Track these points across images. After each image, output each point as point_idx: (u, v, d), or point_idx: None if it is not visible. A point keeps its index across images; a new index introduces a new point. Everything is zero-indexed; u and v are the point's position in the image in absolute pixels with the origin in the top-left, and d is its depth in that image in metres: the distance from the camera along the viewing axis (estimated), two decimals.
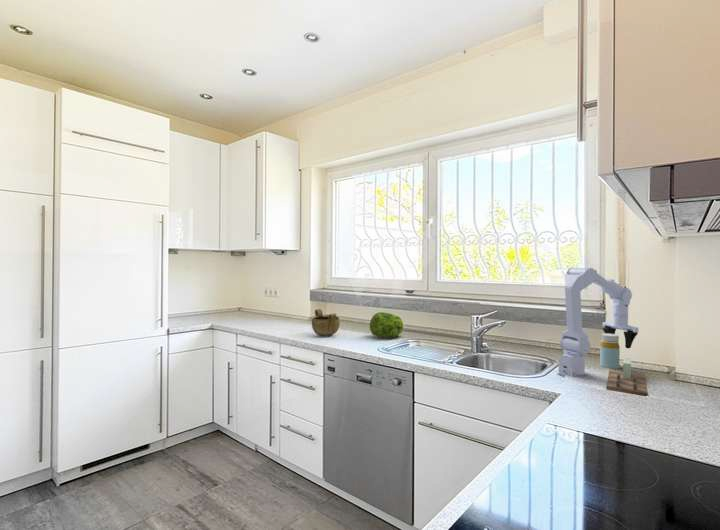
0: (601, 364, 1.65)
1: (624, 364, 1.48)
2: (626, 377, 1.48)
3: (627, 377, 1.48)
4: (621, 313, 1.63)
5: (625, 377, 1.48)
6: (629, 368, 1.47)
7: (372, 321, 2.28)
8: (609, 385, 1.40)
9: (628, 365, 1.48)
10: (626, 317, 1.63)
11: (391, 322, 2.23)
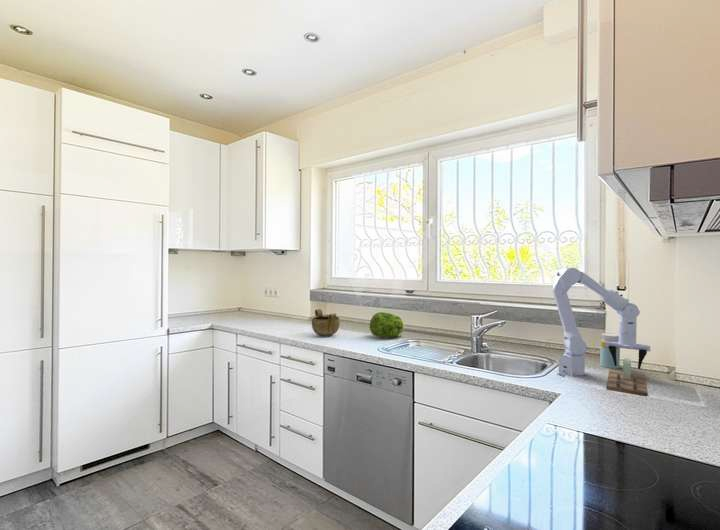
0: (601, 364, 1.65)
1: (624, 364, 1.48)
2: (626, 377, 1.48)
3: (627, 377, 1.48)
4: (623, 331, 1.50)
5: (625, 377, 1.48)
6: (629, 368, 1.47)
7: (372, 321, 2.28)
8: (609, 385, 1.40)
9: (628, 365, 1.48)
10: None
11: (391, 322, 2.23)
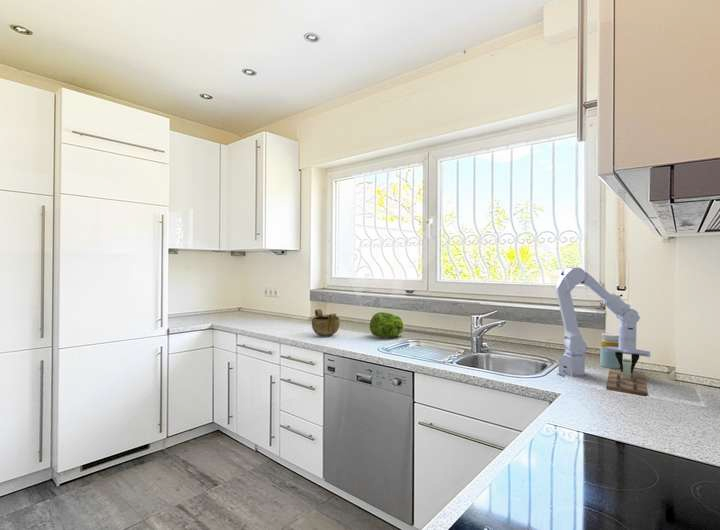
0: (601, 364, 1.65)
1: (624, 364, 1.48)
2: (626, 377, 1.48)
3: (627, 377, 1.48)
4: (623, 336, 1.50)
5: (625, 377, 1.48)
6: (629, 368, 1.47)
7: (372, 321, 2.28)
8: (609, 385, 1.40)
9: (628, 365, 1.48)
10: None
11: (391, 322, 2.23)
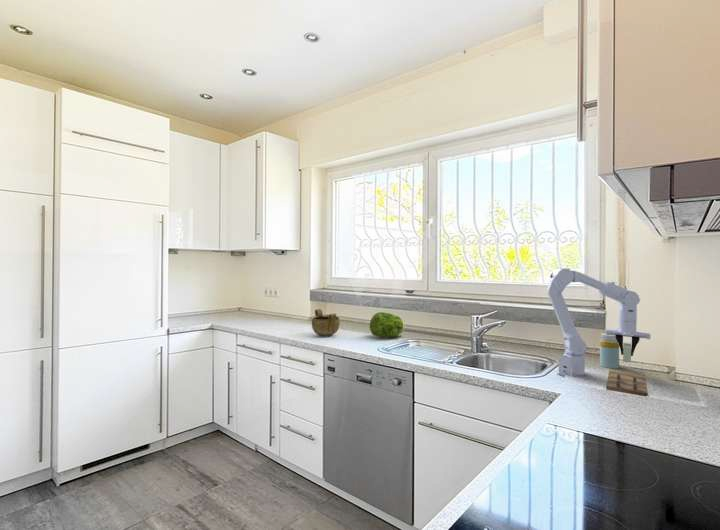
0: (601, 364, 1.65)
1: (624, 347, 1.48)
2: (626, 360, 1.48)
3: (627, 360, 1.47)
4: (624, 318, 1.50)
5: (625, 360, 1.48)
6: (629, 351, 1.47)
7: (372, 321, 2.28)
8: (609, 385, 1.40)
9: (628, 348, 1.47)
10: (619, 321, 1.53)
11: (391, 322, 2.23)
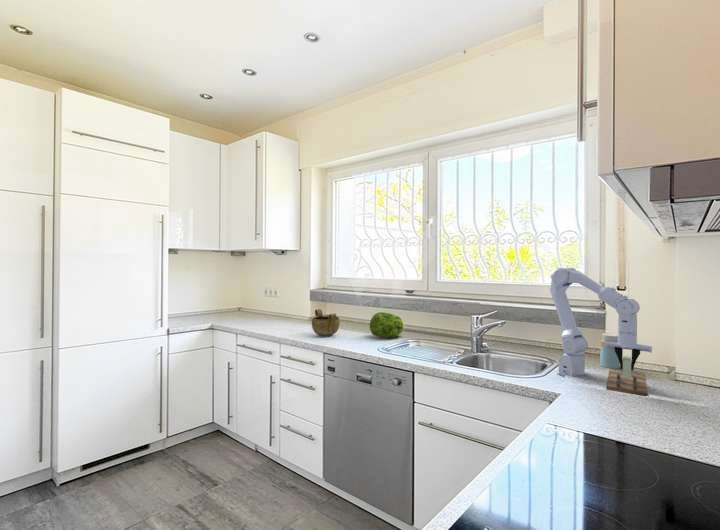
0: (601, 364, 1.65)
1: (624, 362, 1.38)
2: (626, 376, 1.37)
3: (627, 376, 1.37)
4: (618, 329, 1.41)
5: (625, 376, 1.38)
6: (629, 366, 1.37)
7: (372, 321, 2.28)
8: (609, 385, 1.40)
9: (628, 363, 1.37)
10: (618, 333, 1.43)
11: (391, 322, 2.23)
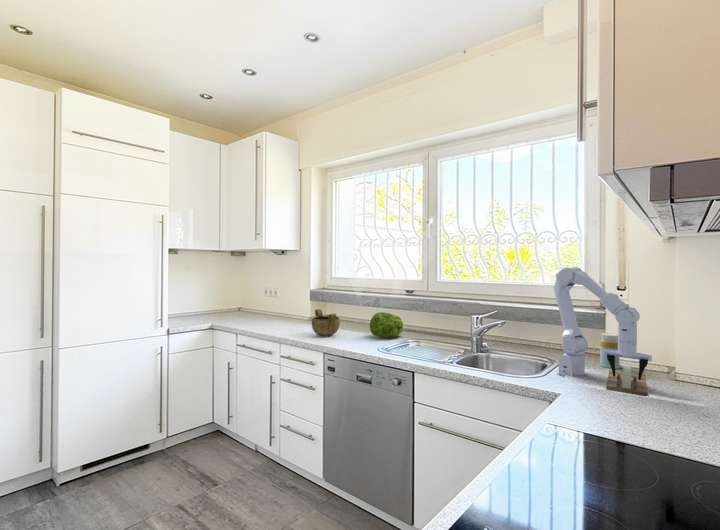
0: (601, 364, 1.65)
1: (624, 372, 1.38)
2: (626, 386, 1.37)
3: (627, 386, 1.37)
4: (618, 338, 1.42)
5: (625, 386, 1.38)
6: (629, 376, 1.37)
7: (372, 321, 2.28)
8: (609, 385, 1.40)
9: (628, 373, 1.37)
10: (618, 341, 1.43)
11: (391, 322, 2.23)
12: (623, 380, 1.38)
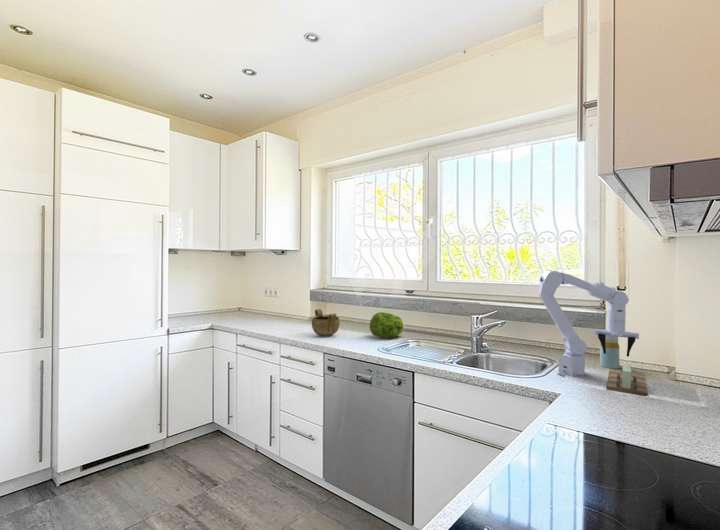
0: (601, 364, 1.65)
1: (624, 372, 1.38)
2: (626, 386, 1.37)
3: (627, 386, 1.37)
4: (613, 318, 1.51)
5: (625, 386, 1.38)
6: (629, 376, 1.37)
7: (372, 321, 2.28)
8: (609, 385, 1.40)
9: (628, 373, 1.37)
10: (608, 321, 1.54)
11: (391, 322, 2.23)
12: (623, 380, 1.38)
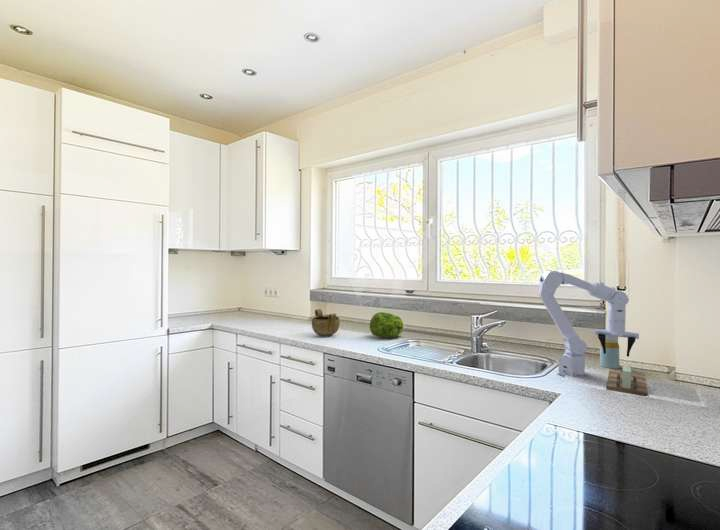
0: (601, 364, 1.65)
1: (624, 372, 1.38)
2: (626, 386, 1.37)
3: (627, 386, 1.37)
4: (613, 318, 1.51)
5: (625, 386, 1.38)
6: (629, 376, 1.37)
7: (372, 321, 2.28)
8: (609, 385, 1.40)
9: (628, 373, 1.37)
10: (608, 321, 1.54)
11: (391, 322, 2.23)
12: (623, 380, 1.38)
